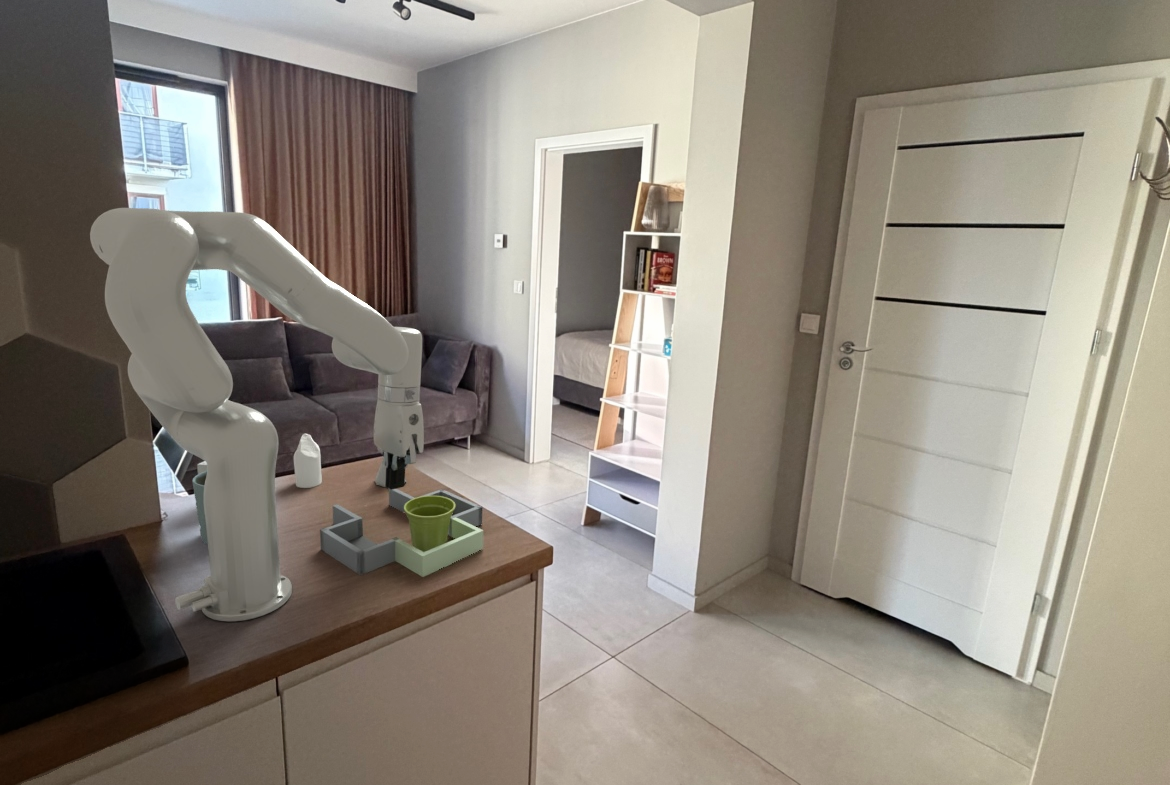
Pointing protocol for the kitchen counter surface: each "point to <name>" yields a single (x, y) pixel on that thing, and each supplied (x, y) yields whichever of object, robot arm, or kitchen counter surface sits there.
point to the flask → (382, 475)
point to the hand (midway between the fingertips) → (394, 486)
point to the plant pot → (429, 520)
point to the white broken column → (307, 463)
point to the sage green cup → (200, 503)
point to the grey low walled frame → (367, 556)
